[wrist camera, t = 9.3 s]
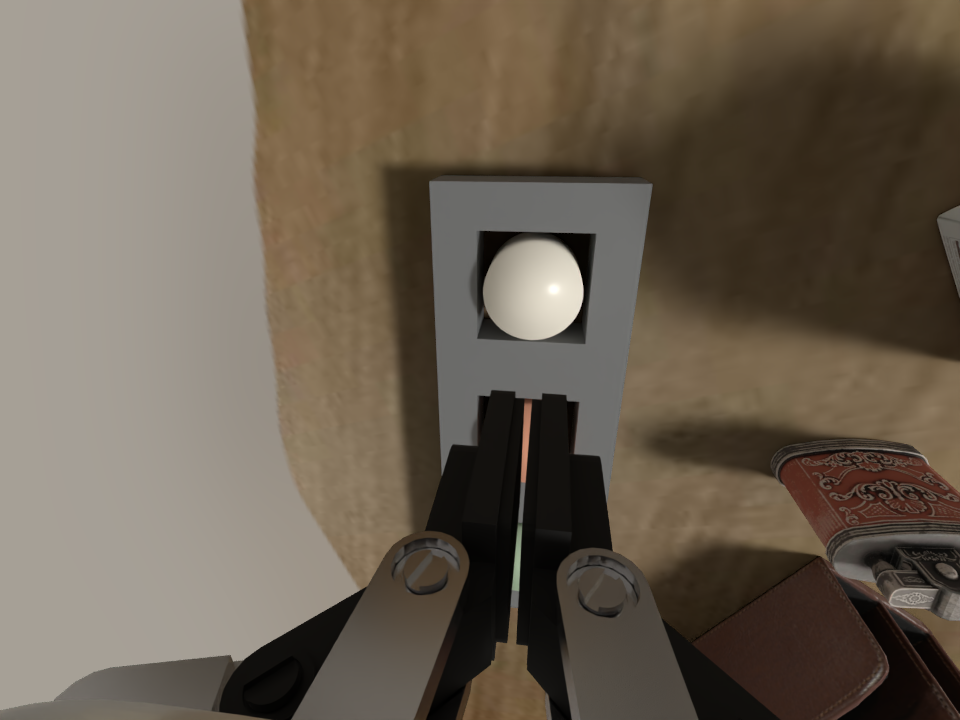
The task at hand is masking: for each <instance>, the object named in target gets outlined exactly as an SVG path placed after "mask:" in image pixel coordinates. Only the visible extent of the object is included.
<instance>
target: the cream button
mask: <svg viewBox="0 0 960 720" xmlns="http://www.w3.org/2000/svg"><path fill="white" fill-rule="evenodd" d="M483 299H484V304H485V307H486V310H487V312H488V314H489V316H490V317H491V319H492V320H493V322H494V323H495V324H496V325H497V326H498V327H499V328H500V329H501V330H503V331H504V332H506V333H508V334H510V335H512V336H514V337H517V338H520V339H525V340H540V339H545V338H549V337H552V336H554V335H556V334H558V333H560V332H562V331H563V330H564V329H566V328H567V327H568V326H569V325H570V324H571V323H572V322H573V320H574V319H575V318H576V316H577V314H578V312H579V310H580V308H581V305H582V301H583V283H582V278H581V273H580V268H579V264H578V261H577V258H576V256H575V254H574V252H573V251H572V249H571V248H570V247H569V246H568V245H567V244H566V243H565V242H564V241H563V240H561V239H560V238H558V237H556V236H554V235H552V234H549V233H545V232H525V233H522V234H519V235H516V236H514V237H512V238H511V239H509V240H508V241H506V242H505V243H504V244H503V245H502V246H501V247H500V248H499V250H498V251H497V253H496V254H495V256H494V258H493V260H492V263H491V265H490V267H489V270H488V272H487V275H486V278H485V281H484V286H483Z"/></svg>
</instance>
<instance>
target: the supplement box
mask: <svg viewBox="0 0 960 720" xmlns="http://www.w3.org/2000/svg"><path fill="white" fill-rule="evenodd" d="M937 223H938V226H939V230H940V234H941V237H942V240H943V244H944V247H945V250H946V254H947V257H948V261H949V264H950V267H951V271H952V274H953V277H954V281H955V284H956V287H957V291H958V294H959V297H960V205H959V206H957V207H955V208H953V209H951V210H949V211H947V212H945V213H943V214H941V215H939V217H938V218H937Z"/></svg>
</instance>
